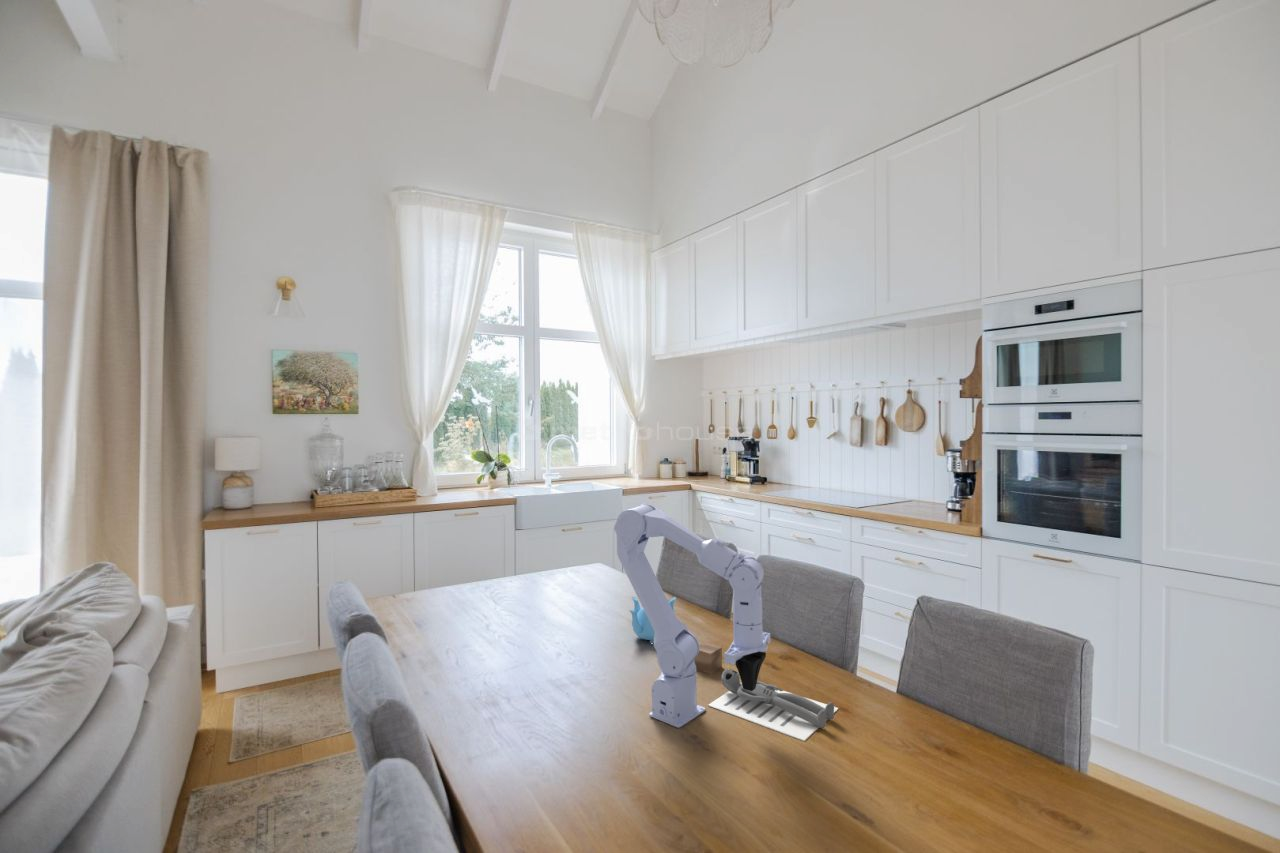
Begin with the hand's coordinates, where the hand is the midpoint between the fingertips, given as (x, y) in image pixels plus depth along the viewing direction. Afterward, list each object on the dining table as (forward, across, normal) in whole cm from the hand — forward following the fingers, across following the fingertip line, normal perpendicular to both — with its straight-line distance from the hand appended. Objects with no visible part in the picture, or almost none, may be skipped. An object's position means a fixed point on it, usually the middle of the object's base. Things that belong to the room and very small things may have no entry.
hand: (749, 688), depth 118 cm
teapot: (+8, +24, +45) cm, 52 cm away
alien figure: (+7, +10, 0) cm, 12 cm away
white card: (+7, +10, 0) cm, 12 cm away
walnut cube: (+8, +18, +22) cm, 29 cm away
